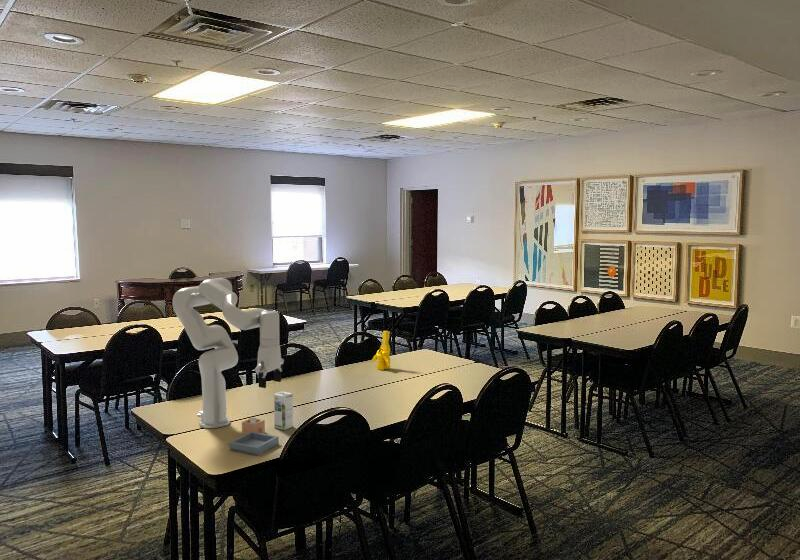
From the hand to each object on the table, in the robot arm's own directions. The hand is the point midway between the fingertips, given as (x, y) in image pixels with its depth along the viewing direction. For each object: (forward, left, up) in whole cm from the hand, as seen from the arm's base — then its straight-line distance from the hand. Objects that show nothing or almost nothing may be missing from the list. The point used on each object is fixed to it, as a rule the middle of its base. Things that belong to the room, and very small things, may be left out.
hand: (270, 384), depth 242 cm
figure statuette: (-8, +116, -21) cm, 118 cm away
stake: (-8, -1, -21) cm, 23 cm away
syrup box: (-1, +10, -21) cm, 24 cm away
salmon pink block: (-8, -1, -21) cm, 23 cm away
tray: (+2, -13, -21) cm, 25 cm away
